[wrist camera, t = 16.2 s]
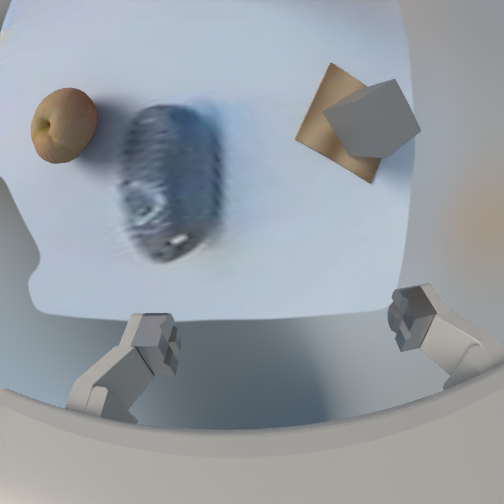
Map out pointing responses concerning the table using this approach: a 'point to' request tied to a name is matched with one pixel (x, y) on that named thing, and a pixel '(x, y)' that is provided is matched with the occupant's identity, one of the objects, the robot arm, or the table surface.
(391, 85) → the plain grey cube
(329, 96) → the cork mat
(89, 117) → the fruit
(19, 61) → the table surface
